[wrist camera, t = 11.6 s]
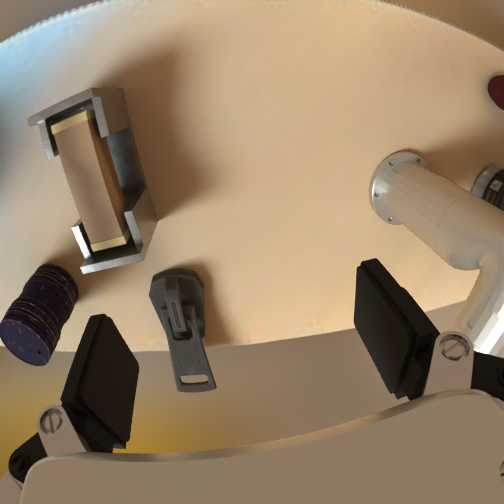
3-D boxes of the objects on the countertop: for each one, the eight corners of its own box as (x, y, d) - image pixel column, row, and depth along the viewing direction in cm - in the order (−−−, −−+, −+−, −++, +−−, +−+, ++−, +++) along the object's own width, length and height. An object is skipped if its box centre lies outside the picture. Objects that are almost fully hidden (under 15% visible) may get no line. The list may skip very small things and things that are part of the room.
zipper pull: (175, 394, 53) (138, 296, 41) (176, 369, 59) (146, 271, 46) (220, 391, 54) (199, 291, 41) (218, 366, 59) (200, 265, 47)
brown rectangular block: (100, 108, 29) (85, 111, 25) (134, 226, 37) (126, 243, 33) (68, 121, 29) (50, 126, 25) (104, 234, 37) (93, 251, 33)
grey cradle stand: (122, 88, 32) (91, 88, 23) (157, 221, 42) (143, 260, 33) (68, 109, 32) (27, 118, 22) (107, 234, 42) (83, 274, 33)
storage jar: (32, 294, 45) (-1, 348, 32) (36, 254, 42) (-5, 308, 29) (75, 315, 49) (49, 374, 36) (83, 277, 45) (52, 339, 32)
